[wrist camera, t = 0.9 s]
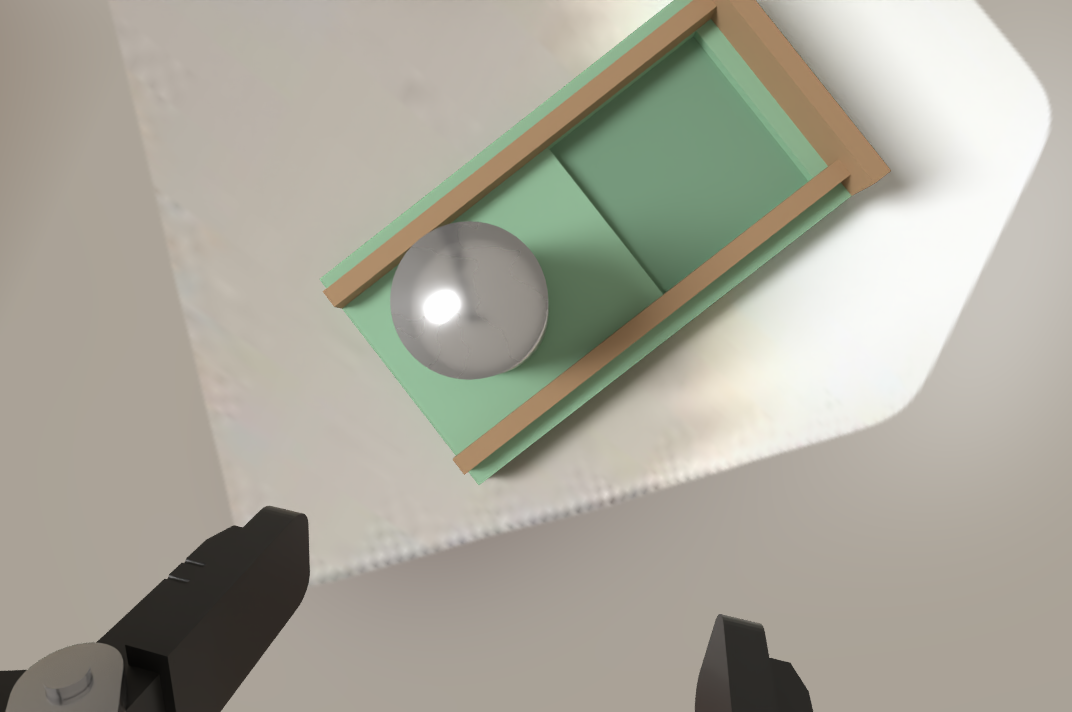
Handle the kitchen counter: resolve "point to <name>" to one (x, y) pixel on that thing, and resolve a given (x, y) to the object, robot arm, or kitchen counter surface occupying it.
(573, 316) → the green railed board
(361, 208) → the kitchen counter surface
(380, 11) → the kitchen counter surface
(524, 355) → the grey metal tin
